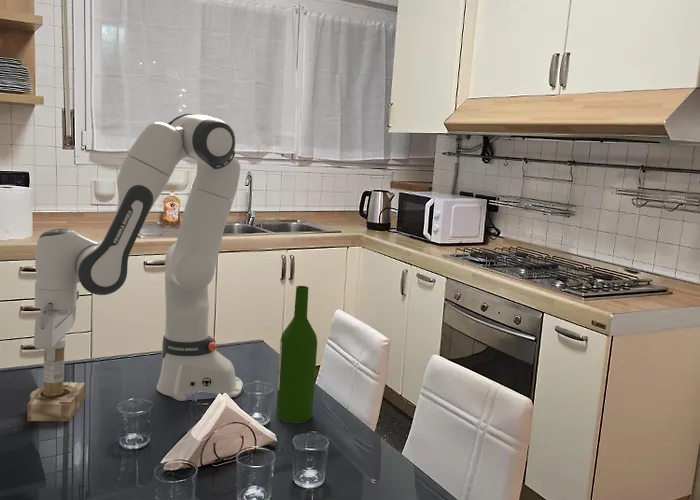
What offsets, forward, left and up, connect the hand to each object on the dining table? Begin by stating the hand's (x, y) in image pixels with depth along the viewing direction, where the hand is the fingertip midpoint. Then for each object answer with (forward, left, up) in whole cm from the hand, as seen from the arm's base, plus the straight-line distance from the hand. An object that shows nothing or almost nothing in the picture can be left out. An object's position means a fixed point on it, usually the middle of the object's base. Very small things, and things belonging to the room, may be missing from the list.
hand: (54, 356), depth 153 cm
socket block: (-1, 0, -13) cm, 13 cm away
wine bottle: (-57, +3, -13) cm, 58 cm away
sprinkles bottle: (0, 0, -9) cm, 9 cm away
